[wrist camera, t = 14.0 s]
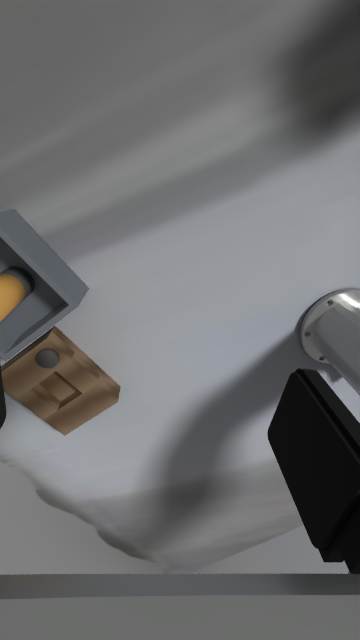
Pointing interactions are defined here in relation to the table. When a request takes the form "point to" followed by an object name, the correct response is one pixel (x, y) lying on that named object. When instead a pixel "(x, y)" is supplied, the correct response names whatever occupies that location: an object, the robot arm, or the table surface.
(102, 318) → the table surface
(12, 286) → the cylinder
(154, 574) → the robot arm
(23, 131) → the table surface
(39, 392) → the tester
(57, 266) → the bin
